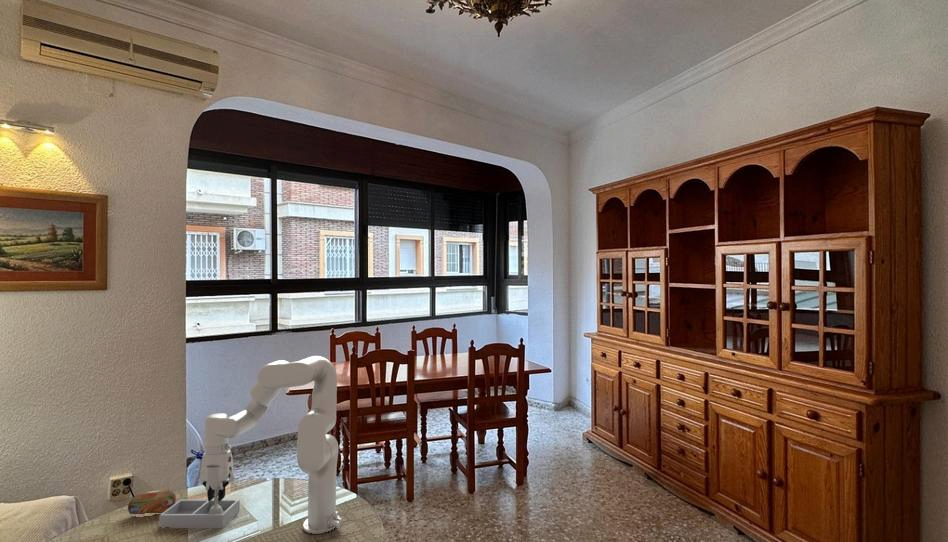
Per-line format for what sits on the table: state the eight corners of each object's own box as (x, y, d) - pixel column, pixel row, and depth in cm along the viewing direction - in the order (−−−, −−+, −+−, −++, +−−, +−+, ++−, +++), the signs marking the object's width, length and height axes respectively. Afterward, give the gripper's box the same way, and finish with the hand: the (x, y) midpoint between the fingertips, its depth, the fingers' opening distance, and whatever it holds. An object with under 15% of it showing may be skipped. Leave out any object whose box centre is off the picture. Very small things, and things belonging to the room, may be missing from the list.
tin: (127, 519, 168) (127, 495, 168) (131, 514, 171) (131, 492, 171) (173, 513, 172) (174, 490, 172) (176, 509, 175) (177, 487, 175)
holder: (239, 511, 173) (239, 499, 173) (222, 528, 162) (222, 515, 162) (180, 511, 173) (180, 499, 173) (159, 528, 162) (159, 515, 162)
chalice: (219, 518, 164) (220, 467, 164) (200, 518, 164) (201, 467, 164) (230, 508, 171) (231, 459, 171) (212, 508, 171) (213, 459, 172)
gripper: (244, 444, 172) (243, 494, 171) (200, 445, 172) (200, 494, 171) (233, 452, 164) (233, 504, 164) (188, 452, 164) (187, 504, 164)
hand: (216, 498), depth 168 cm, fingers closed on chalice, 3 cm apart
